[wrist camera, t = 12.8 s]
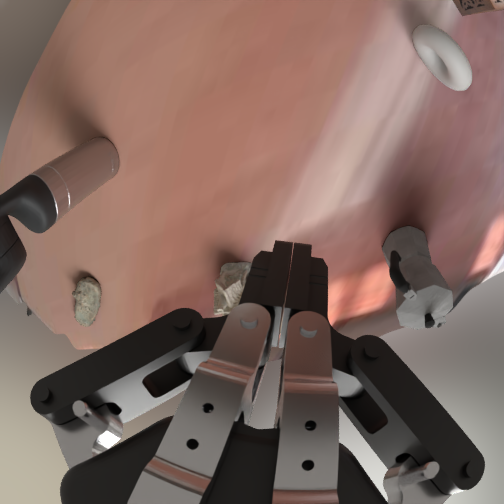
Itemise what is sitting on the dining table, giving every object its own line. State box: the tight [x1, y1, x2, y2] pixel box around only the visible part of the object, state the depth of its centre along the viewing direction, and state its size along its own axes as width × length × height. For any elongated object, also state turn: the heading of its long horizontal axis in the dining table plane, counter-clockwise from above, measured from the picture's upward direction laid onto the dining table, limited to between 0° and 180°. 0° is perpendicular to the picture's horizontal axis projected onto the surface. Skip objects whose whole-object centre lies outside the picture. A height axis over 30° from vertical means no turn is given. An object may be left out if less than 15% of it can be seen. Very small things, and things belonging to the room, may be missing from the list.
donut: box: [412, 25, 472, 91], centre depth 20 cm, size 10×4×10 cm, turn 46°
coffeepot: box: [382, 226, 453, 330], centre depth 37 cm, size 15×9×18 cm, turn 56°
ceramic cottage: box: [214, 262, 288, 334], centre depth 52 cm, size 16×16×15 cm
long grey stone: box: [72, 277, 101, 327], centre depth 78 cm, size 35×5×10 cm
